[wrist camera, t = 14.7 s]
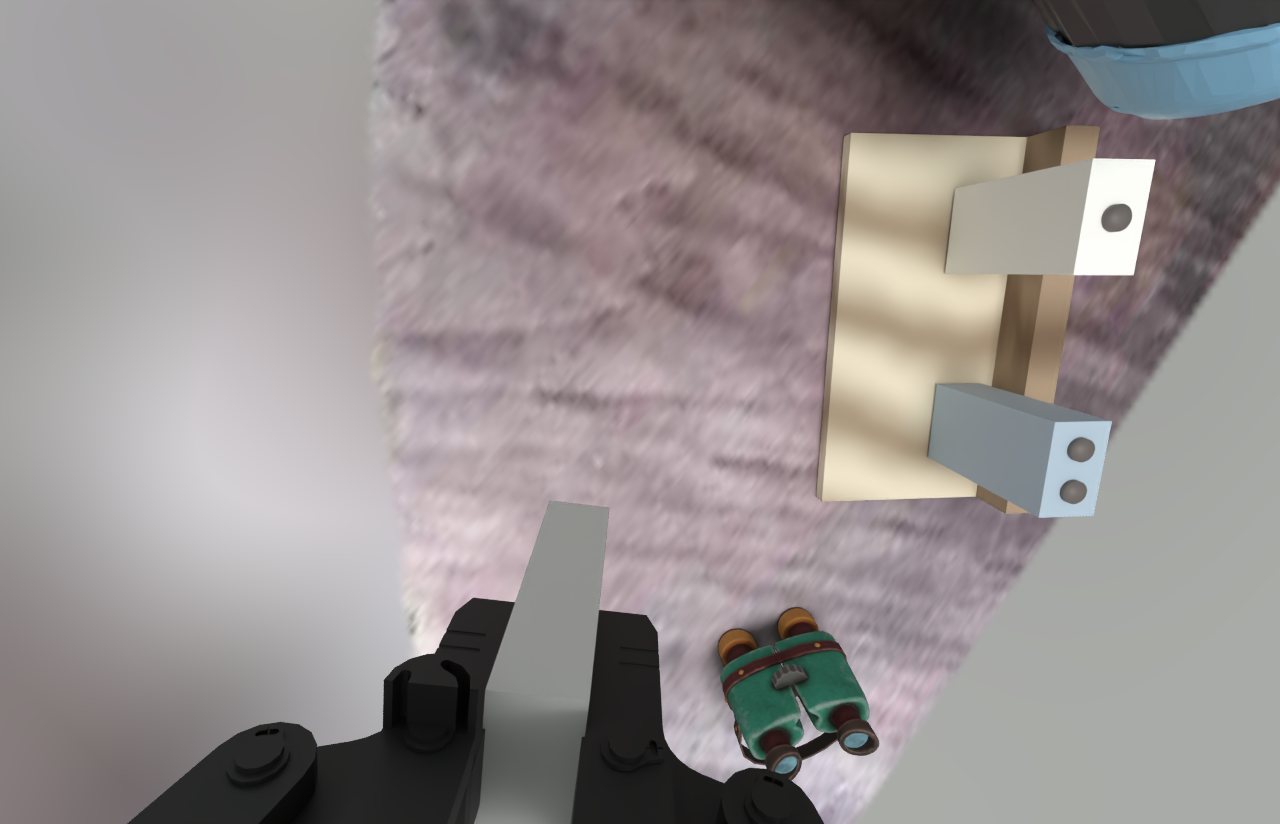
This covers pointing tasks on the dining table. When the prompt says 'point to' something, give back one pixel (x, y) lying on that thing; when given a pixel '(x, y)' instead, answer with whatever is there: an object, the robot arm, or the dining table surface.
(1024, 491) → the tile two
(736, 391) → the dining table surface
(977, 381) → the holder
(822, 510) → the dining table surface
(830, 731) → the binoculars
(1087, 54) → the robot arm
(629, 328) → the dining table surface
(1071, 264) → the tile one
